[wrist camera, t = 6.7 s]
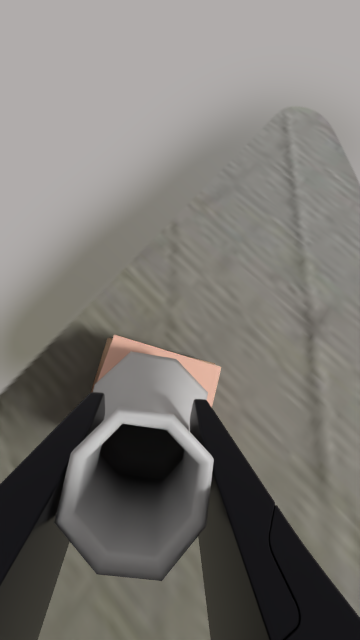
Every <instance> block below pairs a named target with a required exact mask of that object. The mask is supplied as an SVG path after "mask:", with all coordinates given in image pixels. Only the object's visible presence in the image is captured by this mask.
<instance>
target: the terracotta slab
mask: <svg viewBox="0 0 360 640" xmlns="http://www.w3.org/2000/svg"><path fill="white" fill-rule="evenodd" d="M131 351H132V352H138V353H144V354H150V355H156V356H162V357H168V358H174V359H177V360H178V361H179V362H180V363H181V364H182V366H183V367H184V368H185V369H186V370H187V371H188V372H189V373H190V374H191V375H192V376H193V377H194V378H195V379H196V380H197V381H198V382H199V384H200V385H201V386H202V387H203V388H204V389H205V390H206V391H207V392H208V396H207V401H208V403H209V404H210V406H211V407H212V404H213V400H214V396H215V391H216V387H217V383H218V379H219V375H220V370H221V367H219V366H216V365H212V364H209V363H206V362H203V361H199V360H196V359H193V358H189V357H186V356H183V355H179V354H176V353H173V352H170V351H166V350H163V349H160V348H156V347H153V346H150V345H146V344H143V343H140V342H137V341H133V340H130V339H127V338H123V337H120V336H117V335H114V337H113V340H112V342H111V345H110V348H109V350H108V353H107V356H106V359H105V361H104V364H103V367H102V369H101V372H100V375H99V378H98V380H97V382H98V381H99V380H100V379H101V378H102V377H103V376H104V375H106V374H107V373H108V372H109V371H110V370H111V369H112V368H113V367H114V366H115V365H117V364H118V363H119V362H120V361H121V360H122V359H123V358H124V357H125V356H126V355H127V354H129V353H130V352H131Z"/></svg>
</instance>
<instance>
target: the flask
mask: <svg viewBox="0 0 360 640" xmlns="http://www.w3.org/2000/svg"><path fill="white" fill-rule="evenodd" d="M93 392H101V393H104V395H105V417H104V421H103V422H102V423H101V424H100V425H99V426H98V427H96V428H95V429H94V430H93V431H92V432H91V433H90V434H89V435H88V436H87V437H86V438H85V439H84V440H83V441H82V442H81V443H80V444H79V445H78V446H77V447H76V448H75V449H74V450H73V451H72V452H71V455H70V459H69V463H68V467H67V471H66V476H65V480H64V484H63V488H62V492H61V497H60V501H59V505H58V509H57V513H56V518H55V522H54V523H55V524H56V525H57V527H58V528H59V529H60V530H61V531H62V533H63V534H64V535H65V536H66V537H67V539H68V540H69V541H70V542H71V543H72V545H73V546H74V547H75V548H76V549H77V551H78V552H79V553H80V554H81V556H82V557H83V558H84V559H85V560H86V562H87V563H88V564H89V565H90V566H91V568H92V569H93V570H94V571H95V572H96V574H100V575H110V576H120V577H130V578H140V579H149V580H159V581H162V580H163V579H164V577H165V576H166V575H167V574H168V572H169V571H170V570H171V569H172V567H173V566H174V565H175V564H176V563H177V561H178V560H179V559H180V558H181V556H182V555H183V554H184V553H185V551H186V550H187V549H188V548H189V546H190V545H191V544H192V543H193V542H194V540H195V539H196V538H197V537H198V535H199V534H200V533H201V532H202V530H203V529H204V528H205V527H206V523H207V514H208V506H209V497H210V488H211V480H212V471H213V462H214V459H213V457H212V455H211V454H210V453H209V452H208V451H207V450H206V449H205V448H204V447H203V446H202V445H201V443H200V442H199V441H198V440H197V439H196V438H195V437H194V436H193V435H192V434H191V433H190V414H191V410H192V405H193V401H194V399H205V400H207V396H208V392H207V391H206V390H205V389H204V388H203V387H202V386H201V385H200V384H199V382H198V381H197V380H196V379H195V378H194V377H193V376H192V375H191V374H190V373H189V372H188V371H187V370H186V369H185V368H184V367H183V366H182V364H181V363H180V362H179V361H178V360H177V359H174V358H168V357H162V356H156V355H150V354H144V353H138V352H132V351H131V352H130V353H129V354H127V355H126V356H125V357H124V358H123V359H122V360H121V361H120V362H119V363H118V364H117V365H115V366H114V367H113V368H112V369H111V370H110V371H109V372H108V373H107V374H106V375H104V376H103V377H102V378H101V379H100V380H99V381H98V382H97V383H96V384H95V385H94V389H93Z"/></svg>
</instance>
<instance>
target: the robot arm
mask: <svg viewBox="0 0 360 640" xmlns="http://www.w3.org/2000/svg"><path fill="white" fill-rule="evenodd" d="M104 417H105V395H104V393H101V392H91V393H90V394H89V395H88V396H87V397H86V398H85V399H84V400H83V401H82V402H81V403H80V404H79V405H78V406H77V407H76V408H75V409H74V410H73V411H72V412H71V413H70V414H69V415H68V416H67V417H66V418H65V419H64V420H63V421H62V422H61V423H60V424H59V425H58V426H57V427H56V428H55V429H54V430H53V431H52V432H51V433H50V434H49V435H48V436H47V437H46V438H45V439H44V440H43V441H42V442H41V443H40V444H39V445H38V446H37V447H36V448H35V449H34V450H33V451H32V452H31V453H30V454H29V455H28V456H27V457H26V459H25V460H24V461H23V462H22V463H21V464H20V465H19V466H18V467H17V468H16V469H15V470H14V471H13V472H12V473H11V474H10V475H9V476H8V477H7V478H6V479H5V480H4V481H3V482H2V483H1V484H0V640H38V637H39V634H40V630H41V627H42V624H43V621H44V618H45V615H46V612H47V609H48V606H49V603H50V600H51V597H52V594H53V591H54V587H55V584H56V581H57V578H58V575H59V572H60V569H61V566H62V563H63V560H64V557H65V554H66V551H67V548H68V544H69V540H68V539H67V537H66V536H65V535H64V534H63V533H62V531H61V530H60V529H59V528H58V527H57V525H56V524H55V523H54V522H55V518H56V513H57V509H58V505H59V501H60V497H61V492H62V488H63V484H64V480H65V476H66V471H67V467H68V463H69V459H70V455H71V452H72V451H73V450H74V449H75V448H76V447H77V446H78V445H79V444H80V443H81V442H82V441H83V440H84V439H85V438H86V437H87V436H88V435H89V434H90V433H91V432H92V431H93V430H94V429H95V428H96V427H98V426H99V425H100V424H101V423H102V422H103V421H104ZM190 433H191V434H192V435H193V436H194V437H195V438H196V439H197V440H198V441H199V442H200V443H201V445H202V446H203V447H204V448H205V449H206V450H207V451H208V452H209V453H210V454H211V455H212V457H213V459H214V462H213V471H212V480H211V488H210V497H209V506H208V514H207V523H206V527H205V528H204V529H203V530H202V532H201V533H200V534H199V535H198V537H199V546H200V554H201V562H202V571H203V579H204V587H205V595H206V604H207V612H208V620H209V629H210V637H211V640H360V617H359V616H358V615H357V613H356V612H355V611H354V609H353V608H352V607H351V606H350V604H349V603H348V602H347V600H346V599H345V598H344V597H343V595H342V594H341V593H340V591H339V590H338V589H337V588H336V586H335V585H334V584H333V583H332V581H331V580H330V579H329V577H328V576H327V575H326V574H325V572H324V571H323V570H322V568H321V567H320V566H319V564H318V563H317V562H316V560H315V559H314V558H313V556H312V555H311V554H310V552H309V551H308V550H307V548H306V547H305V546H304V544H303V543H302V541H301V540H300V539H299V537H298V536H297V534H296V533H295V531H294V530H293V529H292V527H291V526H290V524H289V523H288V521H287V520H286V518H285V517H284V515H283V514H282V512H281V511H280V509H279V508H278V506H276V505H275V502H274V500H273V499H272V497H271V496H270V494H269V493H268V491H267V490H266V488H265V487H264V485H263V484H262V482H261V481H260V479H259V478H258V476H257V475H256V473H255V472H254V470H253V469H252V467H251V466H250V464H249V463H248V461H247V460H246V458H245V457H244V455H243V454H242V452H241V451H240V449H239V448H238V446H237V445H236V443H235V442H234V440H233V439H232V437H231V436H230V434H229V433H228V431H227V430H226V428H225V427H224V425H223V424H222V422H221V421H220V419H219V418H218V416H217V415H216V413H215V412H214V410H213V409H212V407H211V406H210V404H209V403H208V401H207V400H205V399H194V401H193V405H192V410H191V414H190Z"/></svg>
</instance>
